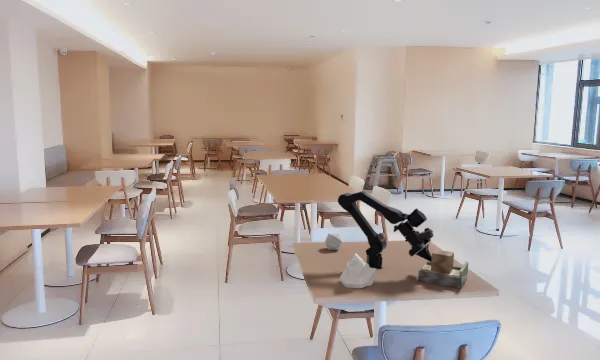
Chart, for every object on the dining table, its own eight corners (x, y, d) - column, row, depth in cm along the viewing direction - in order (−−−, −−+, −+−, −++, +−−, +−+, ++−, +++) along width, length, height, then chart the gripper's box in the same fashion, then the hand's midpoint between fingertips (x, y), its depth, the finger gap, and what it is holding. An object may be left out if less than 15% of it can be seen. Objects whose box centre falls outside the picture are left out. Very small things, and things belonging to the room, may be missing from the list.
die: (336, 254, 249) (346, 237, 251) (321, 244, 250) (332, 228, 252) (334, 255, 258) (344, 239, 260) (320, 245, 259) (330, 230, 261)
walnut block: (430, 270, 213) (432, 253, 211) (434, 266, 219) (435, 249, 218) (449, 274, 209) (450, 256, 208) (452, 270, 215) (454, 252, 214)
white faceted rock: (373, 294, 198) (371, 263, 193) (337, 292, 202) (334, 262, 197) (377, 277, 209) (375, 248, 204) (342, 275, 213) (339, 247, 208)
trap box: (418, 280, 211) (419, 264, 210) (426, 270, 225) (427, 255, 224) (460, 288, 203) (462, 271, 202) (467, 278, 217) (468, 261, 216)
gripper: (417, 226, 207) (442, 256, 204) (427, 219, 224) (450, 246, 220) (398, 242, 212) (422, 271, 208) (409, 233, 228) (431, 260, 225)
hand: (432, 261), depth 215 cm, fingers closed, pressing on walnut block
